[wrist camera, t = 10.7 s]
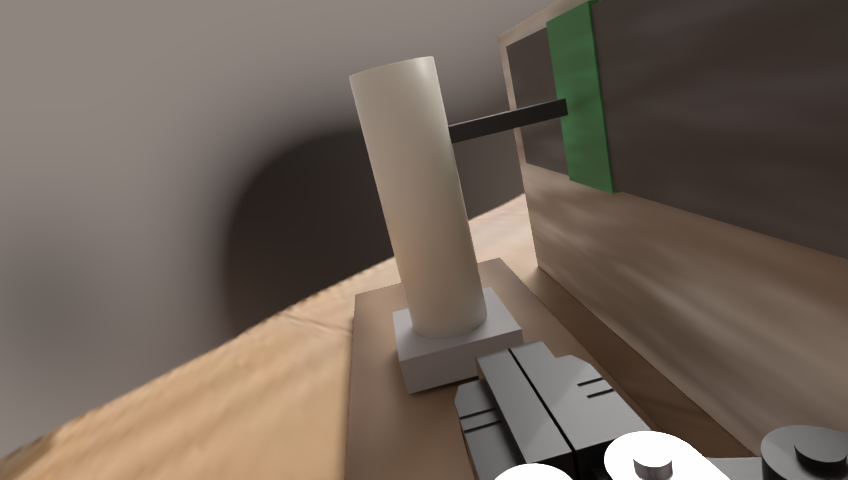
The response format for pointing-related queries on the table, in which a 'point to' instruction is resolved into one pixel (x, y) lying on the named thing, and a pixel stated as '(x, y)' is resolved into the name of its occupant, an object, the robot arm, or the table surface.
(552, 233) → the base
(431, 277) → the white cylinder on base
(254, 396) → the table surface
